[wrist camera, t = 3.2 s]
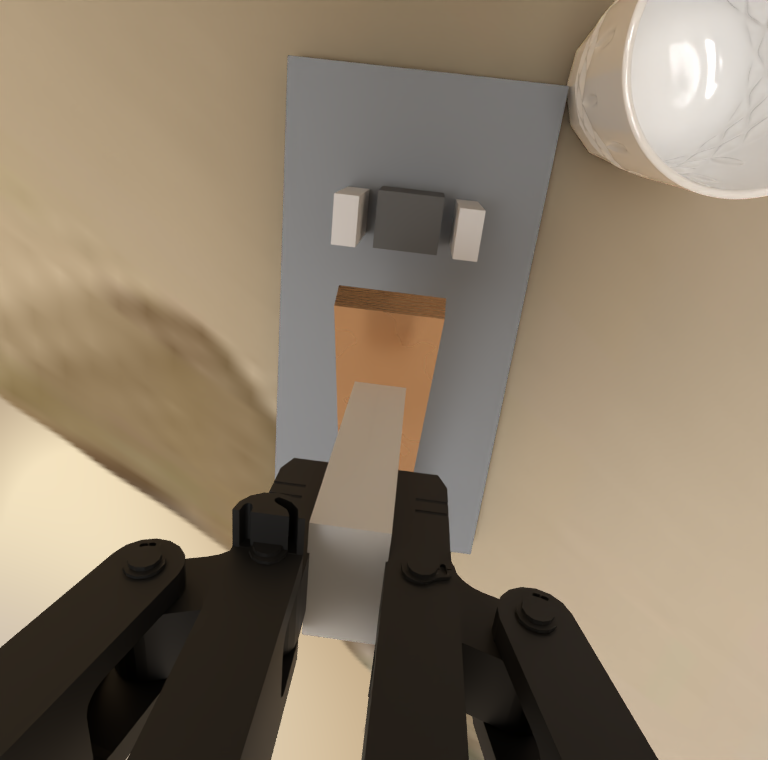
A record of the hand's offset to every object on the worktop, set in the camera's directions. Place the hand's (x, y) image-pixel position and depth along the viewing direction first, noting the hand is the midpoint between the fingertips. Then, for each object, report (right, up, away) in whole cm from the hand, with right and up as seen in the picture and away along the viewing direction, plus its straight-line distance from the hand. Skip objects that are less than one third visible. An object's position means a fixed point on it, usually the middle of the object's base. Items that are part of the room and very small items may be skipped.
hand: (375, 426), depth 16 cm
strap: (0, -2, +7) cm, 7 cm away
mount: (+1, +4, +13) cm, 14 cm away
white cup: (+12, +14, +8) cm, 20 cm away
